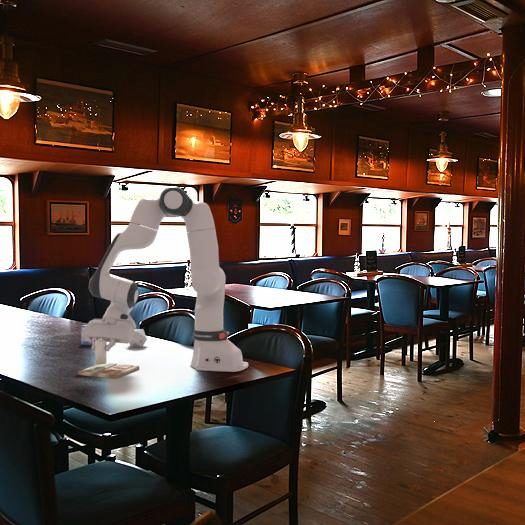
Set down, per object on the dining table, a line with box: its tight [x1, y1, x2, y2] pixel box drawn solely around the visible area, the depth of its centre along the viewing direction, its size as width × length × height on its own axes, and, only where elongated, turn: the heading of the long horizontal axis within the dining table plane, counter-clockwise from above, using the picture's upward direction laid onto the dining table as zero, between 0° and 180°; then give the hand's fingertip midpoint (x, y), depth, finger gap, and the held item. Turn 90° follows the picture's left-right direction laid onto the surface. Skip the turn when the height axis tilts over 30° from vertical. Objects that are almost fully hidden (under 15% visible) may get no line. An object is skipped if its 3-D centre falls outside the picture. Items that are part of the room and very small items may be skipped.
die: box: [128, 328, 148, 348], centre depth 282 cm, size 8×9×10 cm
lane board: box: [77, 362, 140, 380], centre depth 233 cm, size 16×16×2 cm
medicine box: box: [80, 324, 93, 346], centre depth 286 cm, size 8×4×9 cm, turn 68°
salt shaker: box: [94, 339, 107, 365], centre depth 233 cm, size 4×4×9 cm
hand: (99, 349), depth 233 cm, fingers closed on salt shaker, 4 cm apart
